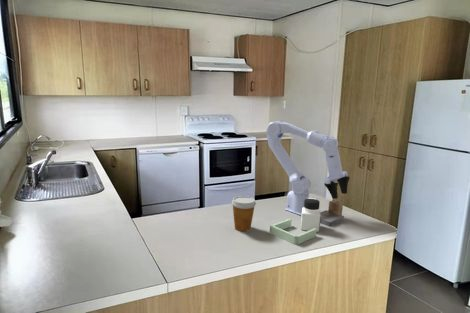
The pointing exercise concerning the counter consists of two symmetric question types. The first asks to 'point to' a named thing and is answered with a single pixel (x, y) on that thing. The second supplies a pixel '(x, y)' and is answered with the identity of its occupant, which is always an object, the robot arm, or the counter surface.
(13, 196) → the counter surface
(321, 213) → the scraper
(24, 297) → the counter surface
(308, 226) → the medicine bottle
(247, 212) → the disposable coffee cup
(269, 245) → the counter surface
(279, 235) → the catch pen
